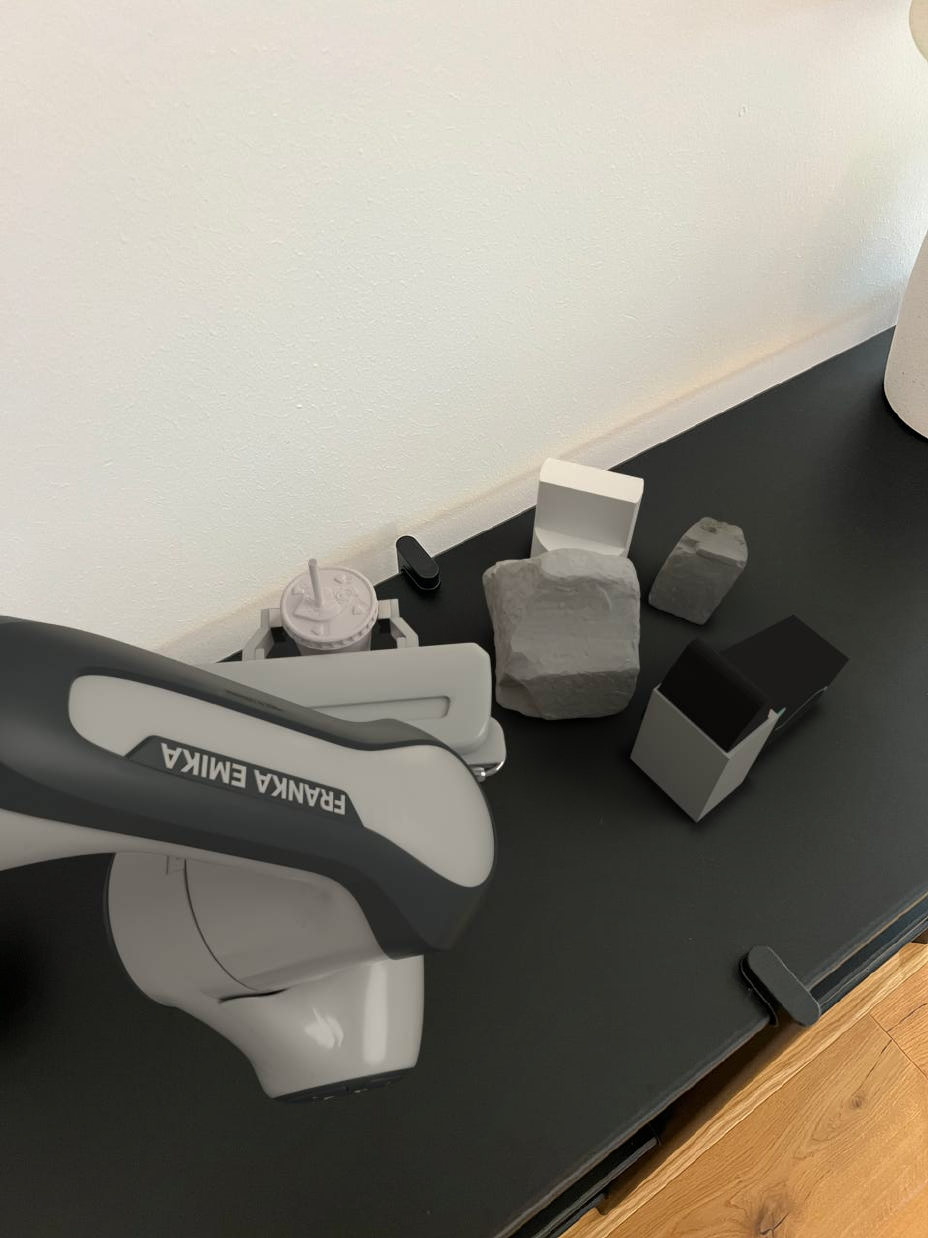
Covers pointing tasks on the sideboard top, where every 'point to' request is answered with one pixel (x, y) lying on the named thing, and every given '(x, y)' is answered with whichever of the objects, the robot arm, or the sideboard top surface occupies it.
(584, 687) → the stone
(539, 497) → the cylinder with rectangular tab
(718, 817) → the sideboard top surface
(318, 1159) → the sideboard top surface
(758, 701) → the decorative object
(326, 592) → the smoothie
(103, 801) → the robot arm
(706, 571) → the mineral specimen
